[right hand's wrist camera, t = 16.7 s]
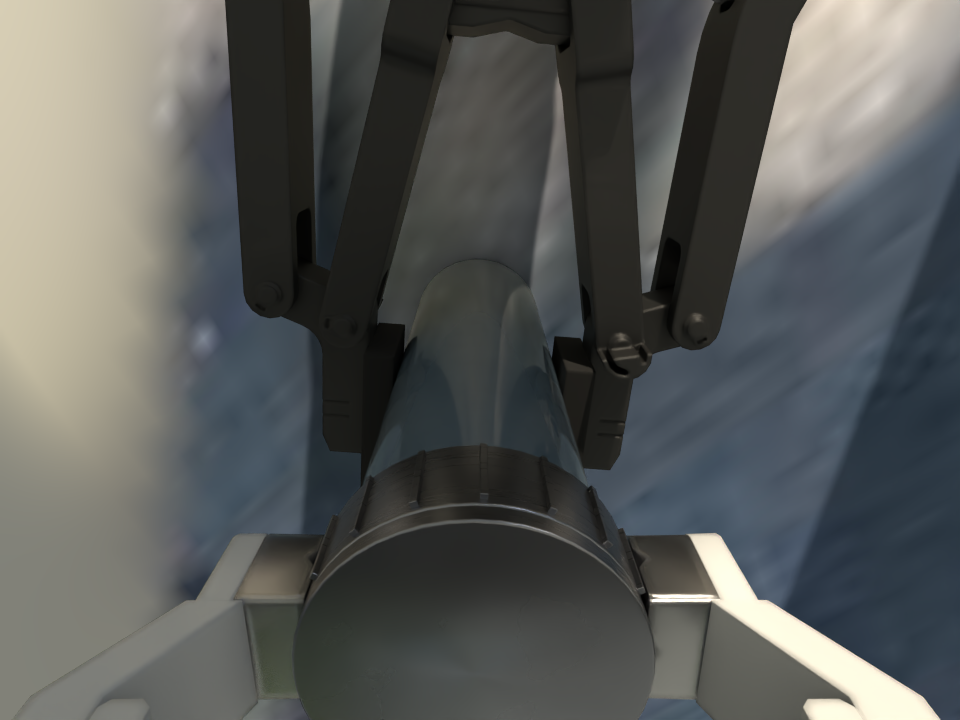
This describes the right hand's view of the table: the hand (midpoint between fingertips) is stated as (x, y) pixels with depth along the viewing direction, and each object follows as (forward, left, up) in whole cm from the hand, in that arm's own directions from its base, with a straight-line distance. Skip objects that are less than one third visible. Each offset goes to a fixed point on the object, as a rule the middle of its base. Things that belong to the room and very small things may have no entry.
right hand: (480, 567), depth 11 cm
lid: (0, 0, +2) cm, 2 cm away
